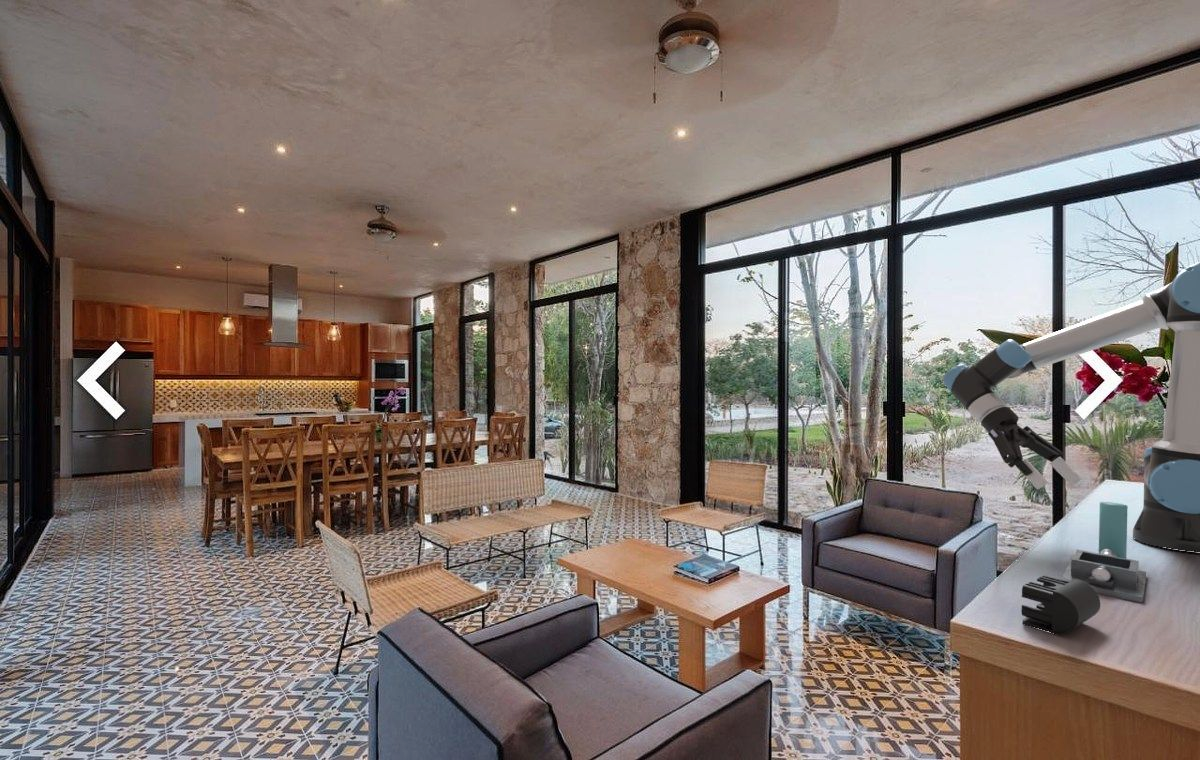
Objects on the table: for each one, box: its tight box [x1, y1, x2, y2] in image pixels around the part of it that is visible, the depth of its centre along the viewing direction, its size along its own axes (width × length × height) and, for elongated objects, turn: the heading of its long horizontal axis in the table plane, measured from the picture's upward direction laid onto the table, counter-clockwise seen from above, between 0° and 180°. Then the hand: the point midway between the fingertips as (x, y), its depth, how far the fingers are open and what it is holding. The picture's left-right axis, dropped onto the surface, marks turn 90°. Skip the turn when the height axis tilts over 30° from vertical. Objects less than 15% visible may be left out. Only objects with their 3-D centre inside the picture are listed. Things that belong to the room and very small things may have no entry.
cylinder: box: [1098, 501, 1129, 559], centre depth 119 cm, size 4×4×12 cm
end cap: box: [1020, 575, 1101, 636], centre depth 86 cm, size 10×7×7 cm
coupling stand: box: [1059, 549, 1147, 604], centre depth 106 cm, size 19×11×4 cm, turn 134°
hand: (1060, 484), depth 128 cm, fingers open, 13 cm apart
